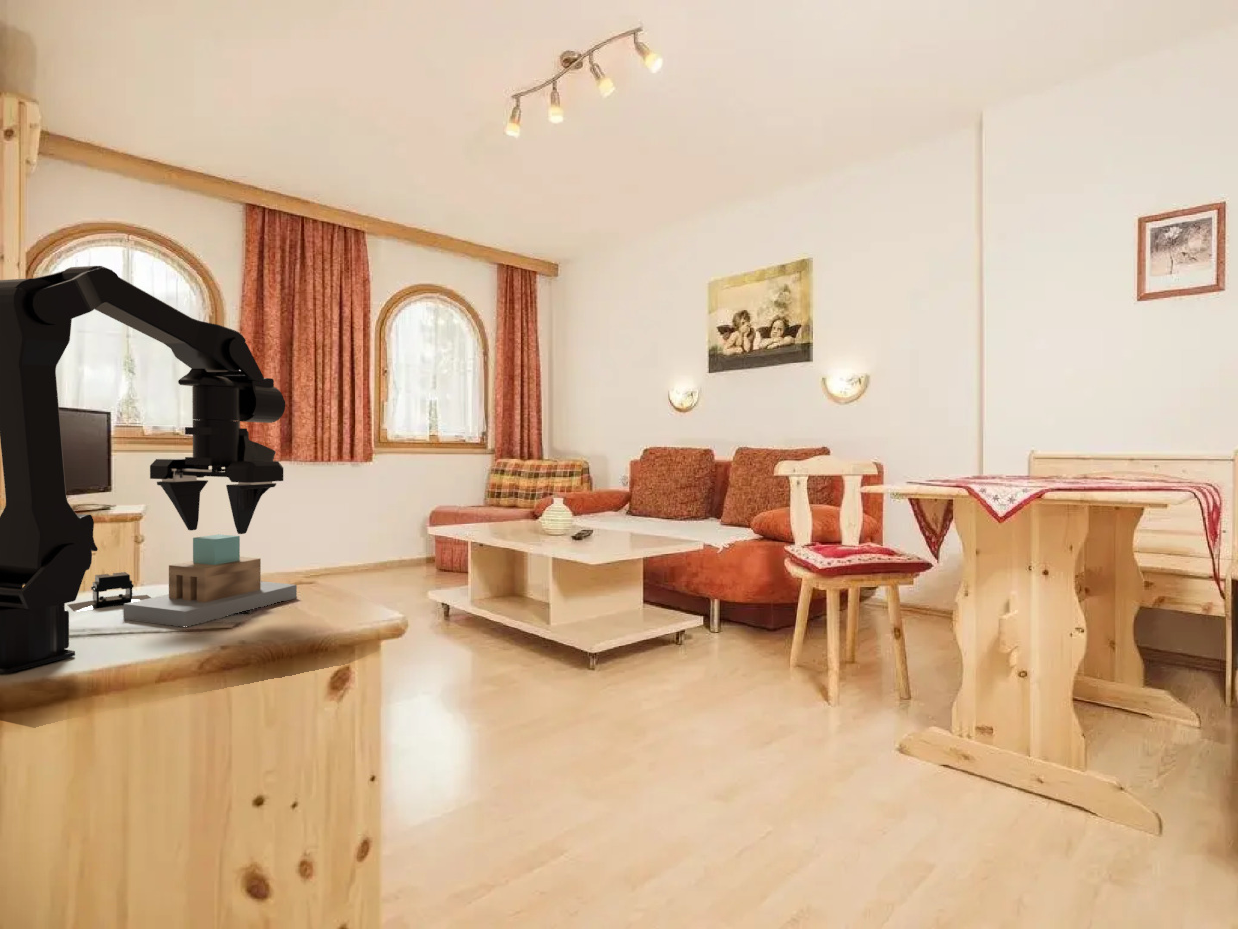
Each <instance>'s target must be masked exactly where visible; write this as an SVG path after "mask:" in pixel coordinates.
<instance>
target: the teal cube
mask: <svg viewBox="0 0 1238 929" xmlns="http://www.w3.org/2000/svg"><path fill="white" fill-rule="evenodd" d="M240 539H241V537H240V535H233V534H232V535H231V534H229V535H228V534H211V535H204V536H196V537H193V538H192V561H193V563H199V564H209V565H218V564H223V563H229V562H234V561H240V557H241V556H240V555H241V554H240V553H241V552H240V547H241V546H240V544H241V542H240Z"/></svg>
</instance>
